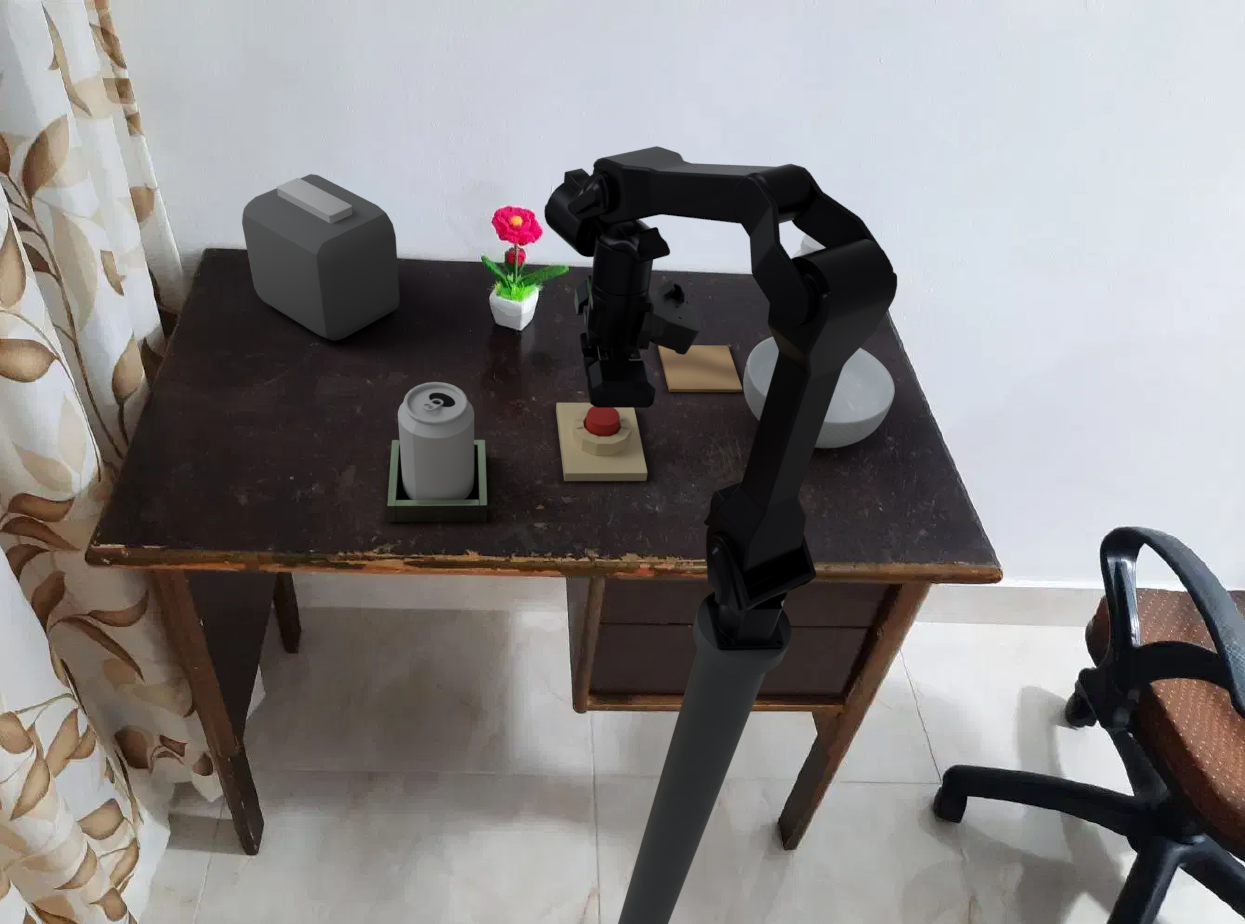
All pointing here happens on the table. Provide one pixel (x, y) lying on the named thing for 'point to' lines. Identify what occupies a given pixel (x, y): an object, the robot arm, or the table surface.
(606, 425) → the stop button
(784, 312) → the robot arm
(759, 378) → the cereal bowl
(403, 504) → the grey-green square frame
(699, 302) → the table surface
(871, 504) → the table surface
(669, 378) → the cork coaster
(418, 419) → the can
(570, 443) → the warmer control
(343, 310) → the alarm clock
